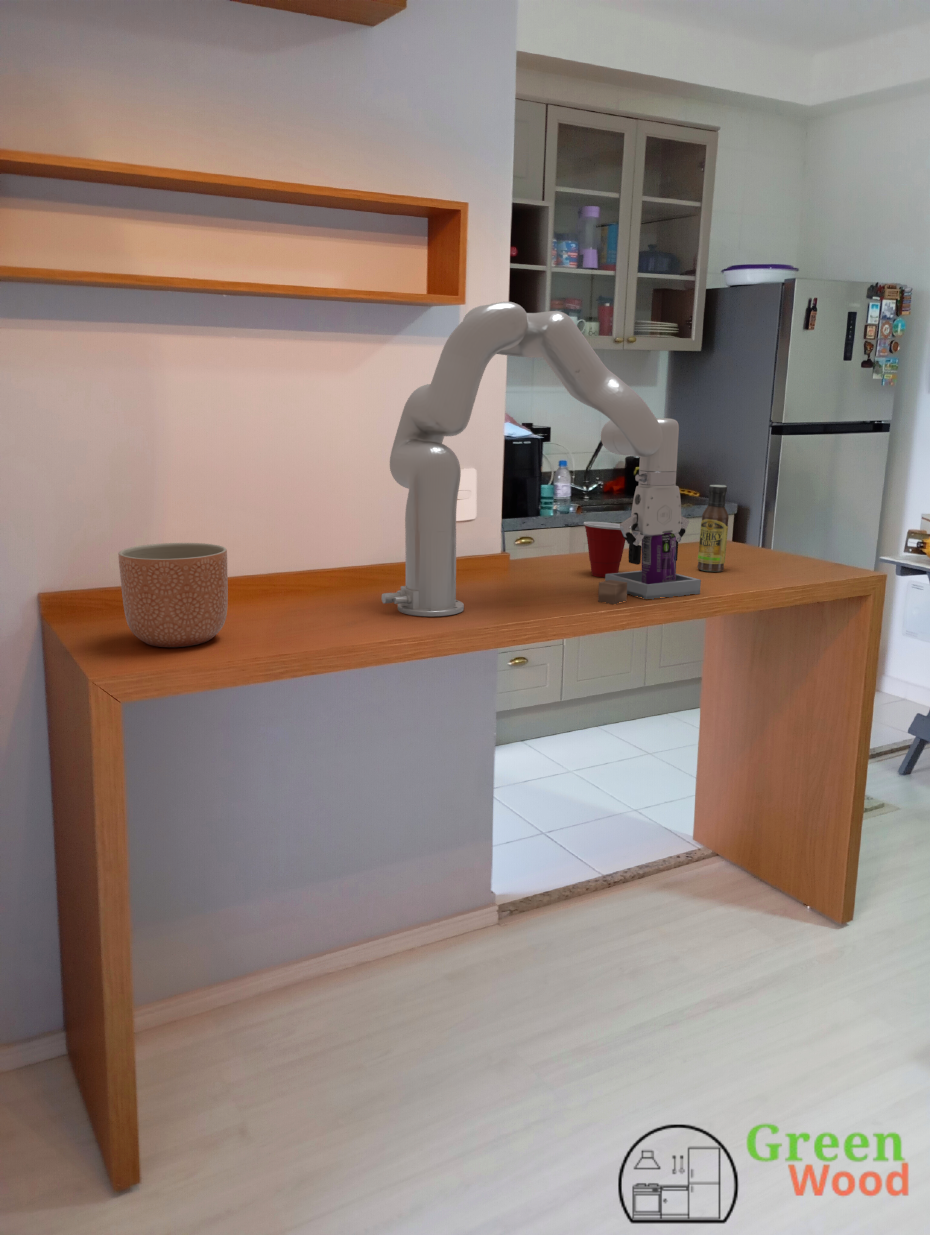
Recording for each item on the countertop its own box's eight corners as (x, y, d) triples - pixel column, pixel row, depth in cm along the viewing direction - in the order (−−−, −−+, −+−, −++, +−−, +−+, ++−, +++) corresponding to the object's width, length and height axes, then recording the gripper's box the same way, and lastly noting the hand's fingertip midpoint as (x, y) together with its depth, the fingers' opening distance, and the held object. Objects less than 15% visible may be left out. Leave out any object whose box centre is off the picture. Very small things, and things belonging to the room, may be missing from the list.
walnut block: (614, 605, 198) (615, 585, 197) (598, 602, 201) (598, 582, 200) (626, 602, 201) (627, 582, 200) (609, 599, 204) (610, 579, 203)
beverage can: (675, 589, 208) (676, 532, 205) (641, 589, 210) (641, 532, 207) (675, 581, 215) (676, 526, 212) (642, 581, 216) (642, 526, 213)
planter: (244, 646, 165) (240, 554, 161) (137, 659, 156) (131, 562, 153) (214, 624, 179) (209, 539, 175) (115, 635, 171) (108, 546, 167)
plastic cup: (638, 578, 226) (641, 524, 223) (596, 581, 222) (598, 526, 219) (614, 569, 236) (616, 518, 233) (573, 572, 232) (574, 520, 229)
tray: (646, 600, 202) (647, 585, 202) (604, 587, 214) (605, 574, 214) (700, 593, 209) (700, 579, 208) (656, 582, 221) (657, 568, 220)
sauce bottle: (693, 571, 235) (698, 485, 231) (702, 567, 240) (708, 483, 236) (719, 574, 232) (725, 487, 227) (729, 570, 237) (734, 485, 232)
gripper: (635, 482, 199) (630, 567, 203) (702, 479, 207) (696, 561, 211) (612, 479, 206) (608, 562, 209) (678, 476, 214) (673, 556, 217)
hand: (652, 561), depth 210 cm, fingers open, 9 cm apart
